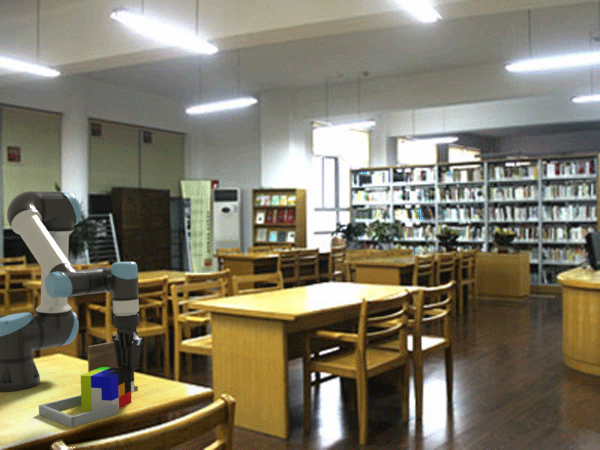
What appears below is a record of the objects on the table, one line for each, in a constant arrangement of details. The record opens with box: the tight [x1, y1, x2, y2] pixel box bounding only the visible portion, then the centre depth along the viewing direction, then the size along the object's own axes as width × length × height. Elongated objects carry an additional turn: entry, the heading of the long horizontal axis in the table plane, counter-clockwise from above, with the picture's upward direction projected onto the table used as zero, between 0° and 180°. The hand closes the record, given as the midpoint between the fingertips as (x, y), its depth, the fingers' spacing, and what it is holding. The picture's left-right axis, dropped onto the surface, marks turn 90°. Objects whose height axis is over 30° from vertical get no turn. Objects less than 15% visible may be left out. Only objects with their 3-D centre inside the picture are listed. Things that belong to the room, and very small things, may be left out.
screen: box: [87, 341, 139, 392], centre depth 192 cm, size 6×15×16 cm, turn 138°
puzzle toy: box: [80, 367, 132, 412], centre depth 180 cm, size 10×10×10 cm
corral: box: [38, 394, 119, 428], centre depth 173 cm, size 18×14×2 cm
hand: (128, 392), depth 185 cm, fingers closed
